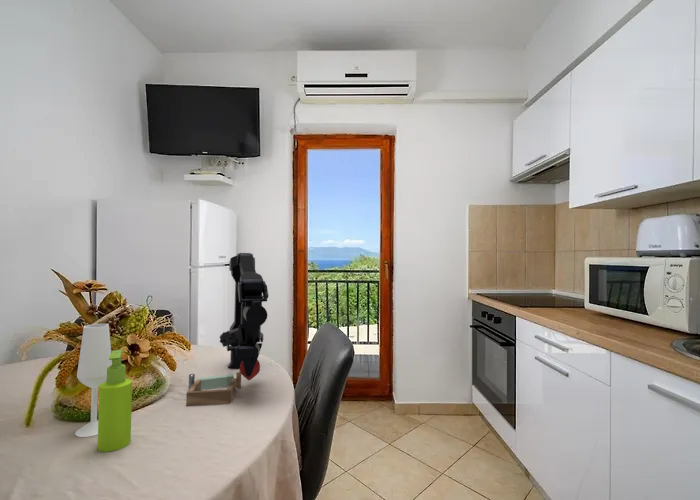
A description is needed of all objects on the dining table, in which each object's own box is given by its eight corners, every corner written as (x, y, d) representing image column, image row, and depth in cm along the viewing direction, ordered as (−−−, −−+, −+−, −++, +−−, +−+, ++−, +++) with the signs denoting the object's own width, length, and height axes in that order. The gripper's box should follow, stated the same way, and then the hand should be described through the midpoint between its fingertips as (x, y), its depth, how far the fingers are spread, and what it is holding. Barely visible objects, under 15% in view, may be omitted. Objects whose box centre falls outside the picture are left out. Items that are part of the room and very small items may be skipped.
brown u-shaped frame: (198, 388, 106) (198, 373, 106) (241, 386, 108) (241, 372, 108) (186, 406, 93) (186, 389, 94) (234, 403, 96) (235, 387, 96)
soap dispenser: (94, 457, 69) (96, 357, 70) (100, 441, 76) (102, 348, 76) (128, 450, 72) (131, 353, 72) (131, 434, 78) (134, 346, 79)
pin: (189, 388, 105) (189, 373, 105) (194, 388, 106) (195, 373, 106) (187, 390, 104) (188, 375, 104) (193, 390, 104) (193, 375, 104)
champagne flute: (104, 419, 85) (107, 321, 85) (116, 428, 81) (118, 325, 82) (70, 430, 80) (73, 326, 80) (81, 440, 76) (84, 330, 76)
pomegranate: (262, 377, 105) (263, 350, 105) (255, 384, 99) (256, 356, 100) (244, 375, 106) (244, 349, 106) (236, 382, 100) (236, 355, 100)
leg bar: (233, 383, 110) (233, 373, 110) (233, 386, 108) (233, 376, 108) (196, 387, 106) (197, 377, 106) (196, 390, 104) (196, 380, 104)
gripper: (228, 314, 111) (227, 363, 110) (215, 326, 92) (214, 385, 92) (264, 314, 113) (263, 362, 112) (258, 326, 94) (257, 383, 94)
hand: (249, 372), depth 103 cm, fingers closed on pomegranate, 6 cm apart
